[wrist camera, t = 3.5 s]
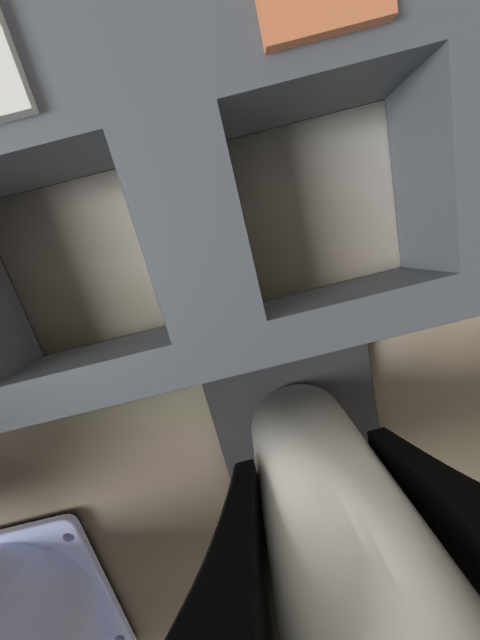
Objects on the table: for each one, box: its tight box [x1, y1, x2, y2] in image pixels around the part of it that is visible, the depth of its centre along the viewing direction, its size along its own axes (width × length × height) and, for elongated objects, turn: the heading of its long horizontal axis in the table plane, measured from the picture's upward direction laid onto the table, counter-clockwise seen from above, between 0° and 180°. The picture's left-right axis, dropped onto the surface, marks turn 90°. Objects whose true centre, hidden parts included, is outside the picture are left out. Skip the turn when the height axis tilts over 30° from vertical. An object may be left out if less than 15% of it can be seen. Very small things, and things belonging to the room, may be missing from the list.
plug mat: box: [202, 344, 379, 478], centre depth 13 cm, size 7×7×1 cm
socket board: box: [0, 0, 480, 433], centre depth 9 cm, size 12×18×3 cm, turn 104°
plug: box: [251, 384, 480, 640], centre depth 8 cm, size 4×4×8 cm
